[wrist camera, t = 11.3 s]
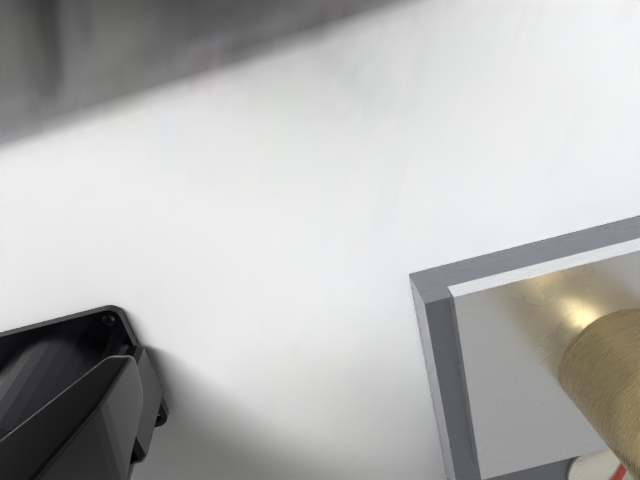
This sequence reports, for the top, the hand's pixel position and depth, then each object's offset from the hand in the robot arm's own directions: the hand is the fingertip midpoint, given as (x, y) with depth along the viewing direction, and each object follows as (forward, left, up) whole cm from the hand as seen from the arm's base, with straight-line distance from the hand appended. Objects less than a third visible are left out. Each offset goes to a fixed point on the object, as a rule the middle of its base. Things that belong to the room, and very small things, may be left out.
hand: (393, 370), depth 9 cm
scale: (+10, -13, -13) cm, 21 cm away
